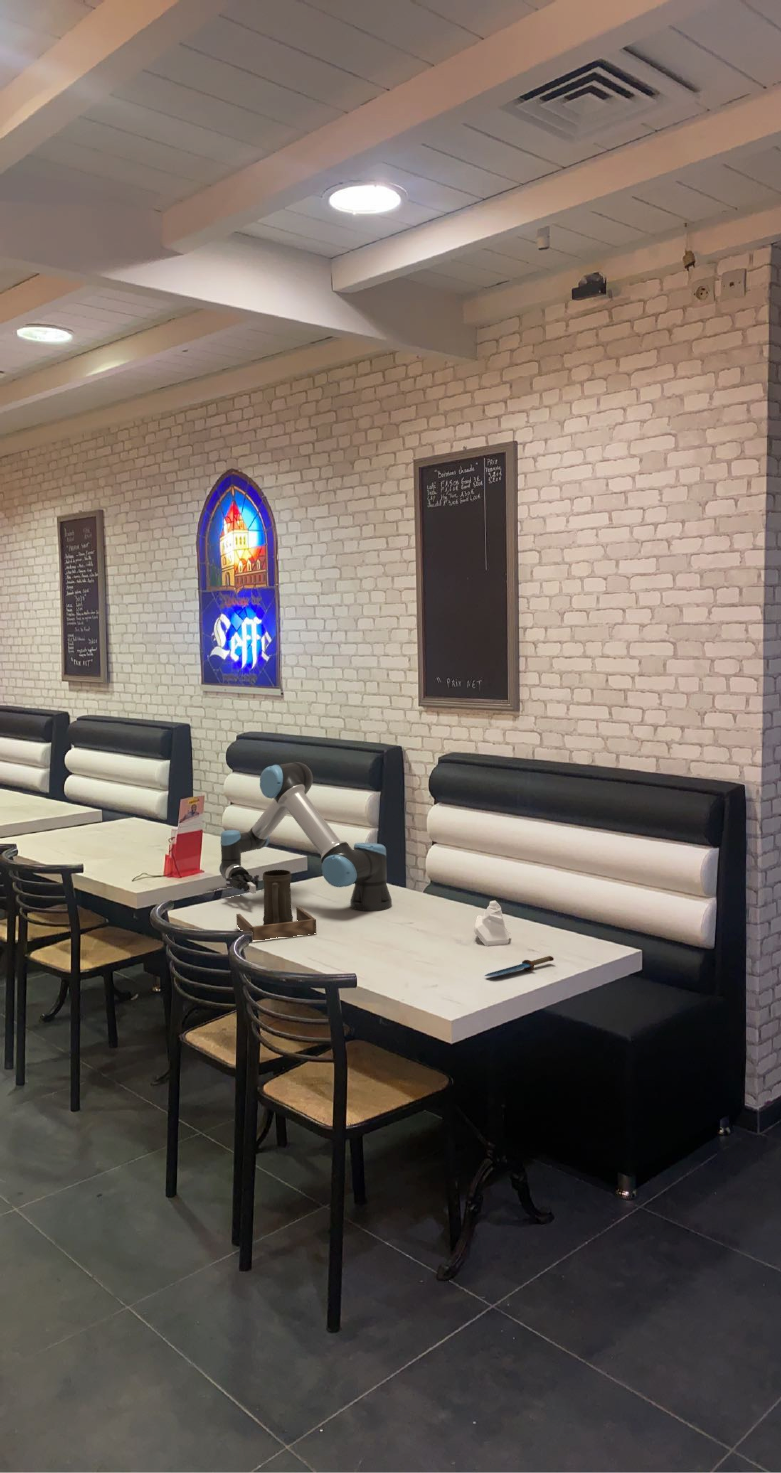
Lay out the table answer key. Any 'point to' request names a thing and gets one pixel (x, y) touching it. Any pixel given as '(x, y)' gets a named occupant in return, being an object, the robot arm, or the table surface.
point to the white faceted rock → (492, 926)
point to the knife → (521, 966)
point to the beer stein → (277, 897)
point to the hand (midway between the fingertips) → (253, 889)
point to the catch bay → (280, 927)
